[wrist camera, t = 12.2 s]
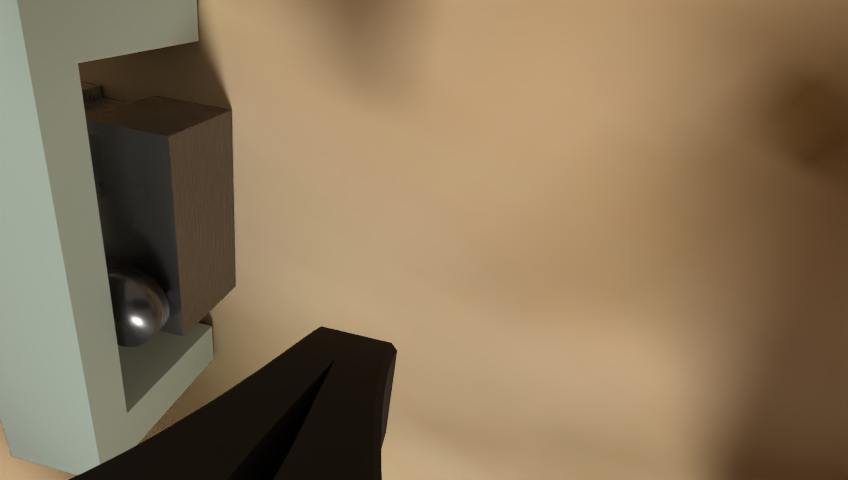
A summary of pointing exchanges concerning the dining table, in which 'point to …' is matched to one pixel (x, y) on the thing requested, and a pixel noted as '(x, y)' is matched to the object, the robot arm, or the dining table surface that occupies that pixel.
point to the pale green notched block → (73, 243)
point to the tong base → (166, 196)
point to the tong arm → (136, 305)
